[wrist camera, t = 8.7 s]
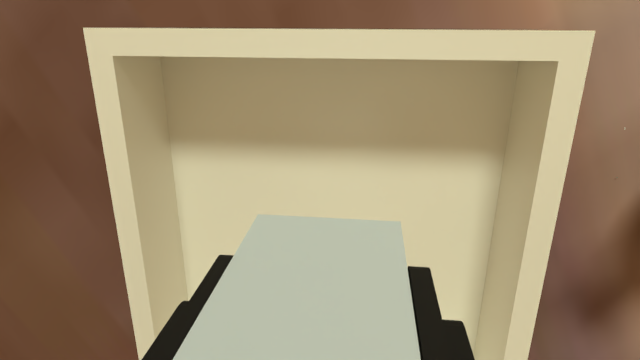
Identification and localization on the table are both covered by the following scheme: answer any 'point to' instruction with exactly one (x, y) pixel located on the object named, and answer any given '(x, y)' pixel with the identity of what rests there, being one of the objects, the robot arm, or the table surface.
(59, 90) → the table surface
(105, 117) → the dish
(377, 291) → the strut
